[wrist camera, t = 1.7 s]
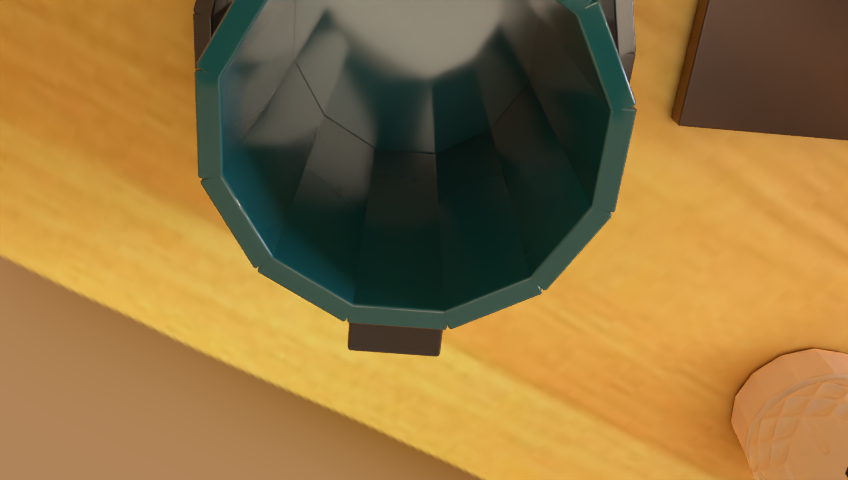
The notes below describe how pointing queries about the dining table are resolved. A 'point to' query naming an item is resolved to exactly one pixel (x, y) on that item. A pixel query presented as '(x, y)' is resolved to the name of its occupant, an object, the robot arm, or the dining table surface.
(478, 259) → the pot
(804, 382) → the white cup
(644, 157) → the dining table surface
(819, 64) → the trivet
